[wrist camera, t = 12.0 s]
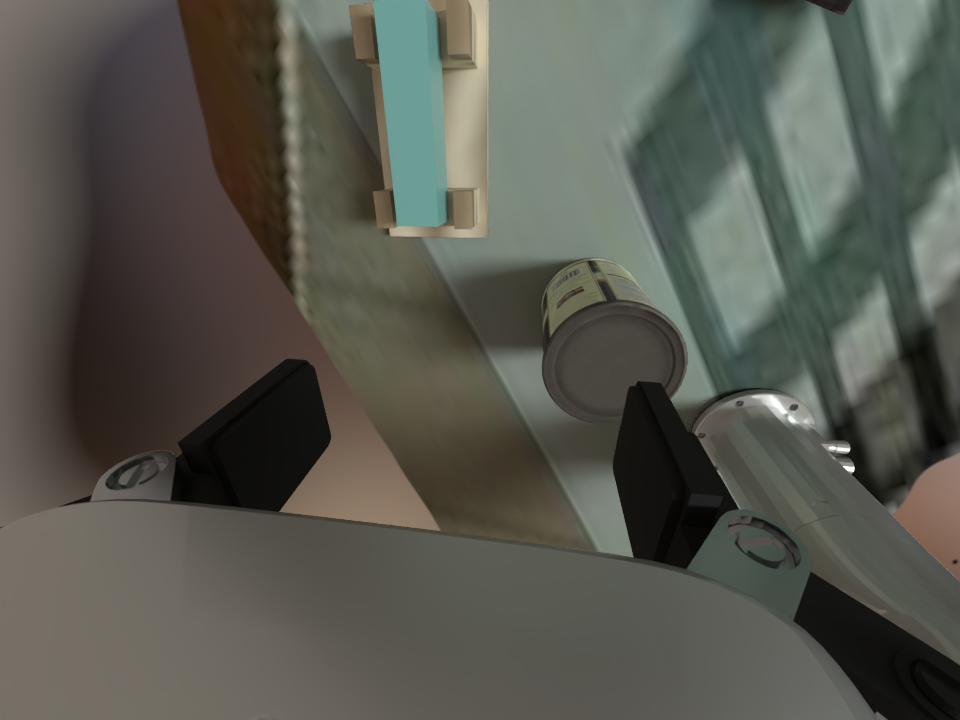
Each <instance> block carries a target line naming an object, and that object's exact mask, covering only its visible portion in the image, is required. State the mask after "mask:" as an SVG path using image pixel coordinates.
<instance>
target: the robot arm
mask: <svg viewBox="0 0 960 720" xmlns="http://www.w3.org/2000/svg"><path fill="white" fill-rule="evenodd" d="M330 440H331V433H330V429H329V425H328V421H327V417H326V413H325V408H324V404H323V400H322V396H321V392H320V388H319V384H318V380H317V375H316V371H315V368H314V367H313V366H312V365H310V363H309V362H308V361H306V360H297V359H286V360H284V361H283V362H282V363H280V364H279V365H278V366H276V367H275V368H274V369H272V370H271V371H270V372H269V373H267V374H266V375H265V376H263V377H262V378H261V379H259V380H258V381H257V382H256V383H254V384H253V385H252V386H250V387H249V388H248V389H247V390H245V391H244V392H243V393H241V394H240V395H239V396H237V397H236V398H235V399H234V400H232V401H231V402H230V403H228V404H227V405H226V406H225V407H223V408H222V409H221V410H219V411H218V412H217V413H216V414H214V415H213V416H212V417H210V418H209V419H208V420H206V421H205V422H204V423H203V424H201V425H200V426H199V427H197V428H196V429H195V430H194V431H192V432H191V433H190V434H188V435H187V436H186V437H184V438H183V439H182V440H181V441H179V442H178V444H179V446H180V448H181V450H182V452H183V453H182V454H181V455H180V456H178V457H177V458H176V456H175V455H174V454H173V453H172V452H170V451H163V450H161V451H151V452H147V453H142V454H139V455H137V456H134V457H131V458H129V459H127V460H125V461H123V462H121V463H119V464H117V465H116V466H114V467H113V468H111V469H110V470H108V471H107V472H106V473H105V474H104V475H103V476H102V477H101V478H100V480H99V481H98V483H97V484H96V487H95V490H94V492H93V495H91V496H88V497H85V498H82V499H79V500H77V501H74V502H71V503H68V504H65V505H63V506H60V507H57V508H53V509H49V510H45V511H42V512H39V513H36V514H32V515H29V516H26V517H23V518H21V519H18V520H16V521H14V522H12V523H9V524H8V525H6V526H3V527H0V720H960V581H959V580H958V579H957V578H956V577H955V576H954V575H952V574H951V573H950V572H949V571H948V570H947V569H946V568H945V567H944V566H943V565H942V564H941V563H940V562H939V561H938V560H937V559H936V558H934V556H932V555H931V554H930V553H929V552H928V551H927V550H926V549H925V548H924V547H923V546H922V545H921V544H920V543H919V542H918V541H917V540H916V539H915V538H914V537H913V536H912V535H911V534H910V533H909V532H908V531H907V530H906V529H905V528H904V527H903V526H902V525H901V524H900V523H899V522H898V521H897V520H896V519H895V518H894V517H893V516H892V515H891V514H890V513H889V512H888V511H887V510H886V509H885V508H884V507H883V506H882V505H881V504H880V503H879V502H878V501H877V500H876V499H875V498H874V497H873V496H872V495H871V494H870V493H869V492H868V491H867V490H866V489H865V488H864V487H863V486H862V485H861V484H860V483H859V482H858V481H857V480H856V479H855V478H854V477H853V476H852V475H851V474H852V473H853V471H854V464H853V462H852V460H851V459H849V458H848V457H839V456H832V455H831V454H830V453H829V452H832V453H843V454H847V453H848V452H849V451H850V445H849V443H848V442H846V441H840V440H825V439H824V438H823V437H822V436H820V435H819V434H818V433H817V432H816V431H815V421H814V418H813V416H812V414H811V412H810V411H809V409H808V408H807V407H806V406H805V405H803V404H802V403H801V402H800V401H799V400H797V399H796V398H795V397H793V396H791V395H788V394H786V393H784V392H779V391H775V390H764V389H759V390H748V391H743V392H739V393H735V394H733V395H730V396H727V397H725V398H723V399H721V400H719V401H717V402H715V403H714V404H713V405H711V406H710V407H709V408H707V409H706V410H705V411H704V412H703V413H702V414H701V415H700V416H699V418H698V419H697V421H696V422H695V424H694V426H693V428H692V431H691V432H688V431H687V429H686V428H685V426H684V424H683V422H682V420H681V418H680V417H679V415H678V413H677V411H676V409H675V407H674V406H673V404H672V402H671V400H670V398H669V397H668V395H667V393H666V391H665V389H664V387H663V386H662V384H661V383H659V382H644V381H638V382H637V383H636V386H630V387H629V388H628V392H627V397H626V402H625V407H624V411H623V416H622V421H621V426H620V431H619V435H618V440H617V445H616V450H615V455H614V460H613V472H614V476H615V481H616V485H617V489H618V493H619V498H620V502H621V506H622V510H623V514H624V519H625V523H626V527H627V531H628V535H629V540H630V544H631V548H632V552H633V556H634V558H633V557H627V556H621V555H616V554H610V553H603V552H596V551H589V550H582V549H575V548H567V547H560V546H553V545H546V544H538V543H530V542H522V541H515V540H507V539H499V538H491V537H483V536H475V535H467V534H459V533H451V532H443V531H434V530H427V529H419V528H410V527H401V526H394V525H386V524H377V523H369V522H360V521H352V520H344V519H335V518H327V517H319V516H310V515H301V514H292V513H284V512H279V511H280V510H281V508H282V507H283V506H284V504H285V503H286V502H287V500H288V499H289V498H290V496H291V495H292V494H293V492H294V491H295V490H296V488H297V487H298V486H299V484H300V483H301V482H302V480H303V479H304V478H305V476H306V475H307V474H308V472H309V471H310V470H311V468H312V467H313V466H314V464H315V463H316V462H317V460H318V459H319V458H320V456H321V455H322V454H323V452H324V451H325V450H326V448H327V447H328V445H329V443H330ZM720 476H721V477H723V478H724V480H725V482H726V484H727V485H728V487H729V489H730V490H731V492H732V494H733V496H734V497H735V499H736V501H737V502H738V504H739V506H740V508H741V509H742V510H739V508H738V507H737V505H736V503H735V501H734V500H733V498H732V496H731V495H730V493H729V491H728V489H727V488H726V486H725V484H724V482H723V481H722V479H721V477H720Z"/></svg>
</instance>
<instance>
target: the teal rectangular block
mask: <svg viewBox="0 0 960 720" xmlns="http://www.w3.org/2000/svg"><path fill="white" fill-rule="evenodd" d="M373 5H374V15H375V24H376V33H377V43H378V52H379V61H380V71H381V80H382V89H383V98H384V108H385V117H386V126H387V136H388V145H389V154H390V164H391V173H392V182H393V192H394V201H395V210H396V219H397V226H424V227H439V226H440V225H442V224H443V223H445V222H447V221H448V220H449V211H448V189H447V167H446V145H445V123H444V102H443V80H442V58H441V36H440V18H439V17H438V15H437V14H436V12H435V11H434V9H433V8H432V6H431V5H430V4H429V2H428V1H427V0H377V1H373Z"/></svg>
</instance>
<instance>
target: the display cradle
mask: <svg viewBox="0 0 960 720" xmlns="http://www.w3.org/2000/svg"><path fill="white" fill-rule="evenodd" d="M427 1H428V2H429V4H430V5H431V6H432V8H433V9H434V11H435V12H436V14H437V15H438V17H439V18H440V36H441V58H442V80H443V102H444V123H445V145H446V167H447V189H448V211H449V220H448V221H447V222H445V223H443V224H442V225H440V226H439V227H424V226H397V219H396V210H395V201H394V192H393V182H392V173H391V164H390V154H389V145H388V136H387V126H386V117H385V108H384V98H383V89H382V80H381V71H380V61H379V52H378V43H377V33H376V24H375V15H374V5H373V3H364V5H351V6H349V10H350V18H351V26H352V33H353V41H354V49H355V57H356V59H357V60H358V61H360V62H362V63H364V64H365V65H367V66H369V67H371V72H372V81H373V90H374V98H375V107H376V116H377V124H378V133H379V142H380V151H381V159H382V168H383V177H384V185H385V189H384V190H378V191H373V196H374V204H375V212H376V220H377V227H378V228H389V229H390V236H411V237H469V238H487V237H488V69H489V0H427Z"/></svg>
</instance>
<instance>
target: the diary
mask: <svg viewBox="0 0 960 720" xmlns="http://www.w3.org/2000/svg"><path fill="white" fill-rule="evenodd" d="M807 1H809V2H811V3H814V4H816V5H819V6H821V7H823V8H826V9H828V10H830V11H833V12H836V13H838V14H841V15H844V13H845V11H846V10H847V8H848V6H849V5H850V3H851V1H852V0H807Z"/></svg>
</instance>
